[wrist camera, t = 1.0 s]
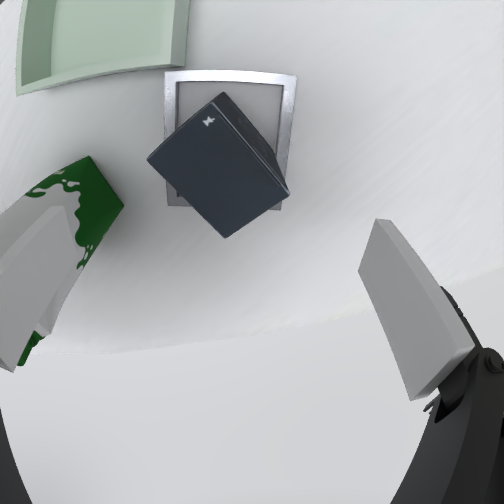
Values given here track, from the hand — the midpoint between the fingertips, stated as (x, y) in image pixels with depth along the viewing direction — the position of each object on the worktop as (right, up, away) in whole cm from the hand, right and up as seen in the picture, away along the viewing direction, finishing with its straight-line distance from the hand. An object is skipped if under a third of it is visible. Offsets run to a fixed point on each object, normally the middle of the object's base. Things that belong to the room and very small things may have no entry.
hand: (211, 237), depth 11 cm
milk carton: (-17, +6, +17) cm, 25 cm away
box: (-1, +10, +14) cm, 18 cm away
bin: (-12, +23, +5) cm, 26 cm away
